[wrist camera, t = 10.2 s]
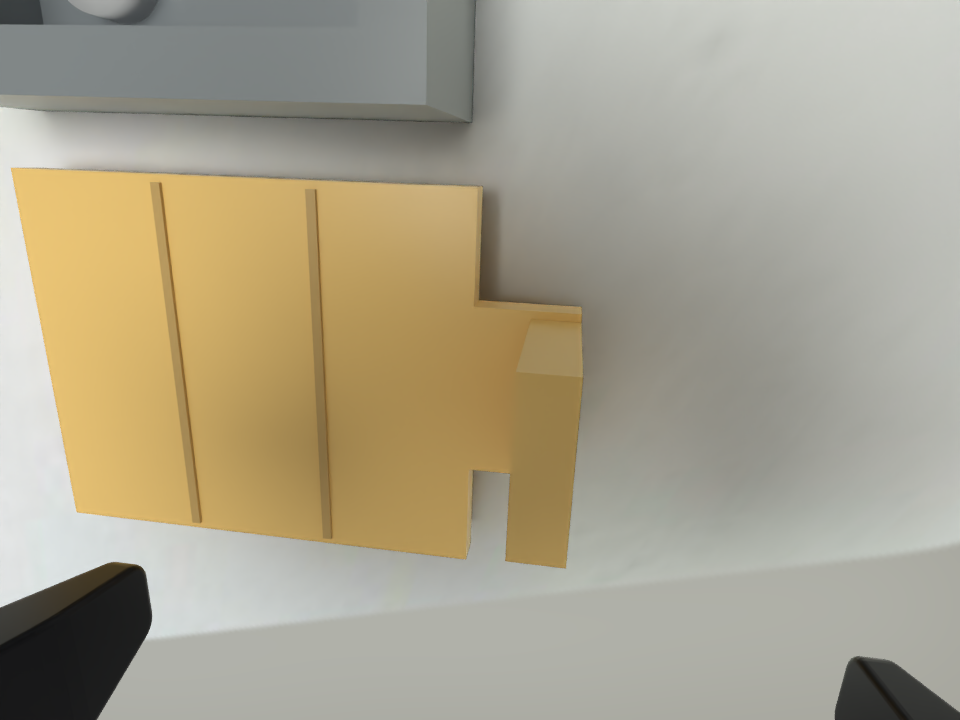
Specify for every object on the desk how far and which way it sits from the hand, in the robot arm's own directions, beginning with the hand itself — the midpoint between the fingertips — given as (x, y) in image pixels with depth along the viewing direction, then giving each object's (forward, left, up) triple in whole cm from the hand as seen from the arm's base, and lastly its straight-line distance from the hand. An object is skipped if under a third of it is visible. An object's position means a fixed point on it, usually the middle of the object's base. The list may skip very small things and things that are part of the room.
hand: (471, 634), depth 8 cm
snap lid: (+6, 0, -10) cm, 12 cm away
